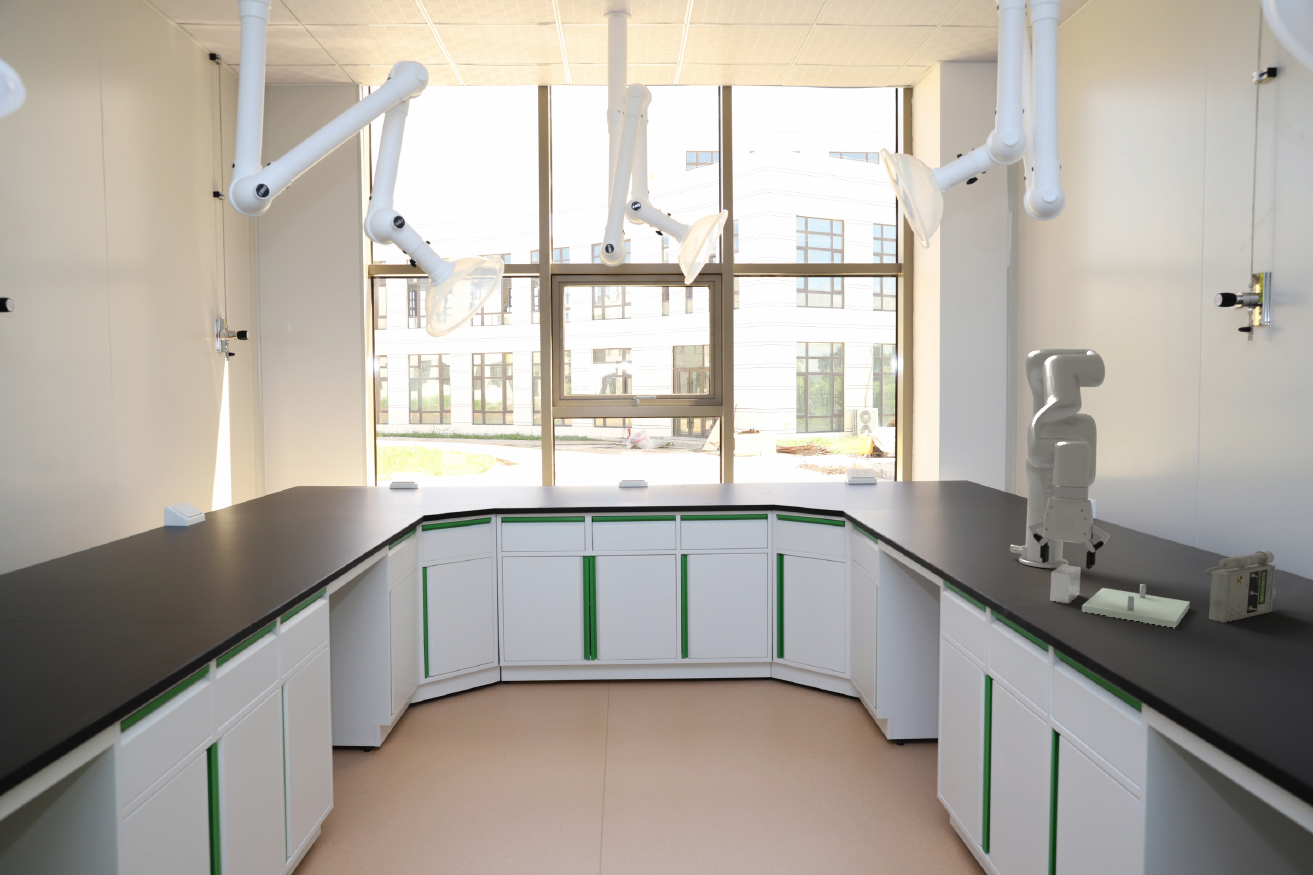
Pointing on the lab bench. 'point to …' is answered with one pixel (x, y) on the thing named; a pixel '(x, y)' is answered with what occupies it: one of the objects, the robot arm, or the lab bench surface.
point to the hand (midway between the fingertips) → (1066, 564)
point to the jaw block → (1065, 583)
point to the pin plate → (1137, 607)
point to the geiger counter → (1242, 587)
